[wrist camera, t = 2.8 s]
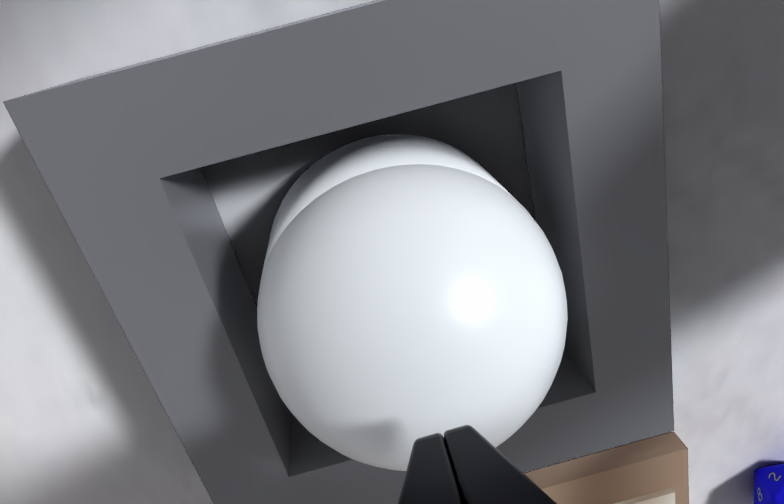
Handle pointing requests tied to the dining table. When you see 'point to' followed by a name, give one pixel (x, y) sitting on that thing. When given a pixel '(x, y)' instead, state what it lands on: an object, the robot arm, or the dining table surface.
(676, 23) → the dining table surface
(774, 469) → the die
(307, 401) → the dome
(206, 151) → the dome collar
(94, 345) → the dining table surface
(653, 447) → the game track
